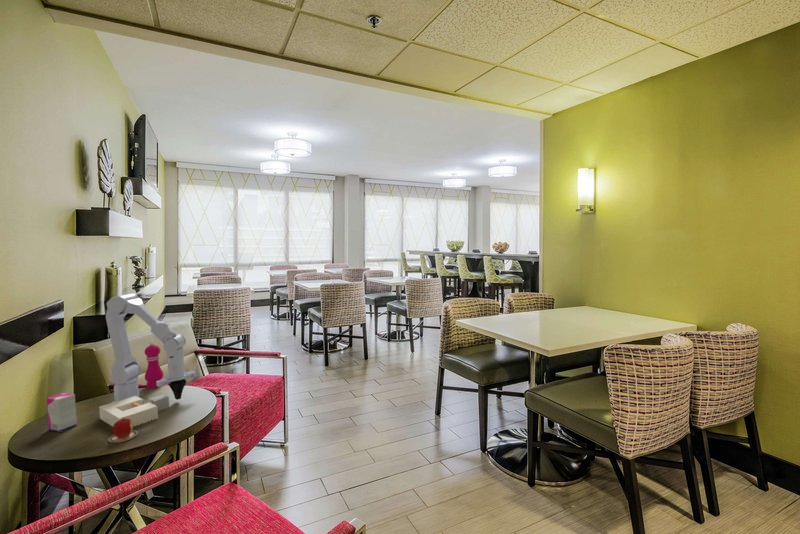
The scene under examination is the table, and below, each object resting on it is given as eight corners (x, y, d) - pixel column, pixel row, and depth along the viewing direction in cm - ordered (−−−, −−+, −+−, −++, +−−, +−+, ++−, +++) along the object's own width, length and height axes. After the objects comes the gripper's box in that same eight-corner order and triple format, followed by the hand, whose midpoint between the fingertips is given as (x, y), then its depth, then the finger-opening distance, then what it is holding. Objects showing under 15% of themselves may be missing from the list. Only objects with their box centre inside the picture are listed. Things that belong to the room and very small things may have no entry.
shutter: (133, 413, 150) (132, 403, 150) (136, 412, 151) (135, 402, 151) (139, 416, 147) (139, 406, 147) (142, 415, 148) (142, 405, 148)
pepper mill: (167, 384, 181) (164, 341, 180) (150, 389, 175) (147, 344, 173) (158, 381, 185) (156, 339, 183) (142, 386, 179) (139, 342, 177)
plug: (146, 410, 154) (145, 399, 153) (163, 404, 159) (163, 394, 158) (152, 413, 151) (151, 402, 151) (169, 407, 156) (168, 396, 156)
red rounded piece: (130, 429, 138) (129, 411, 138) (142, 435, 134) (141, 416, 134) (103, 440, 131) (102, 420, 131) (116, 446, 127) (114, 426, 127)
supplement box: (77, 424, 142) (75, 393, 142) (59, 432, 137) (56, 400, 136) (66, 422, 144) (64, 391, 143) (47, 430, 139) (45, 398, 138)
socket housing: (100, 418, 147) (99, 406, 147) (136, 407, 157) (135, 395, 156) (120, 431, 137) (119, 418, 136) (158, 418, 146) (157, 406, 146)
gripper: (161, 372, 152) (163, 407, 153) (199, 362, 164) (200, 394, 165) (152, 369, 156) (155, 403, 157) (190, 359, 168) (192, 391, 169)
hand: (178, 398), depth 161 cm, fingers closed
